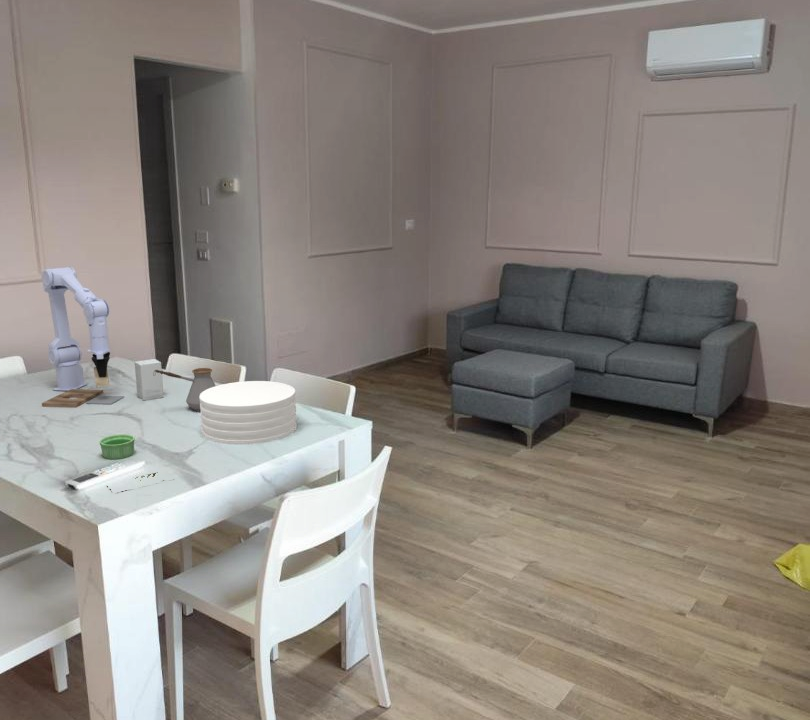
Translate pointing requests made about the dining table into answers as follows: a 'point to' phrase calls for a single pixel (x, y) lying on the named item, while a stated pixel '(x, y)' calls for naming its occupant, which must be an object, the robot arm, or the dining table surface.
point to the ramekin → (117, 446)
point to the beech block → (101, 379)
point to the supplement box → (149, 379)
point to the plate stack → (248, 412)
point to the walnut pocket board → (65, 400)
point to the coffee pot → (195, 385)
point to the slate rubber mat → (105, 400)
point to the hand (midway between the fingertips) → (102, 375)
